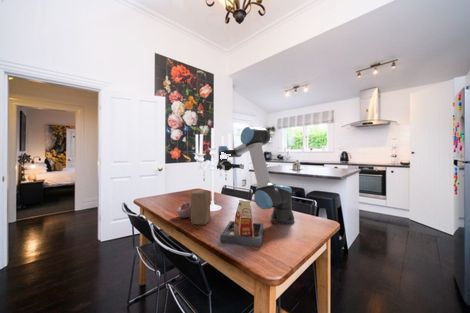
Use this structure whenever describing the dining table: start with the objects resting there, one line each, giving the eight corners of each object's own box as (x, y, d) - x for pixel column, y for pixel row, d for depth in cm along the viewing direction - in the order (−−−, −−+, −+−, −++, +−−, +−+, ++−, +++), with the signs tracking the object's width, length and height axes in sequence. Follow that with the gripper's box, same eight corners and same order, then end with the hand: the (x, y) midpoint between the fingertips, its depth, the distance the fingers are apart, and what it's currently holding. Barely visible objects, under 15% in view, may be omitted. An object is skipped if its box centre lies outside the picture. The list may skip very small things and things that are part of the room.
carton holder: (263, 230, 111) (263, 223, 111) (260, 246, 92) (260, 238, 92) (230, 227, 116) (230, 220, 115) (220, 242, 96) (220, 234, 96)
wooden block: (205, 225, 119) (205, 193, 119) (190, 224, 121) (190, 192, 121) (210, 219, 129) (210, 190, 129) (196, 218, 131) (196, 189, 131)
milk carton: (239, 241, 97) (239, 202, 97) (232, 234, 106) (232, 198, 105) (255, 238, 101) (255, 200, 101) (247, 231, 110) (247, 196, 109)
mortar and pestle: (173, 217, 135) (173, 200, 135) (189, 213, 143) (188, 198, 142) (181, 221, 126) (181, 204, 126) (197, 217, 134) (197, 201, 134)
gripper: (240, 169, 155) (250, 172, 135) (210, 170, 148) (215, 173, 127) (240, 160, 155) (250, 161, 135) (210, 161, 147) (215, 162, 127)
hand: (233, 167), depth 131 cm, fingers open, 13 cm apart
